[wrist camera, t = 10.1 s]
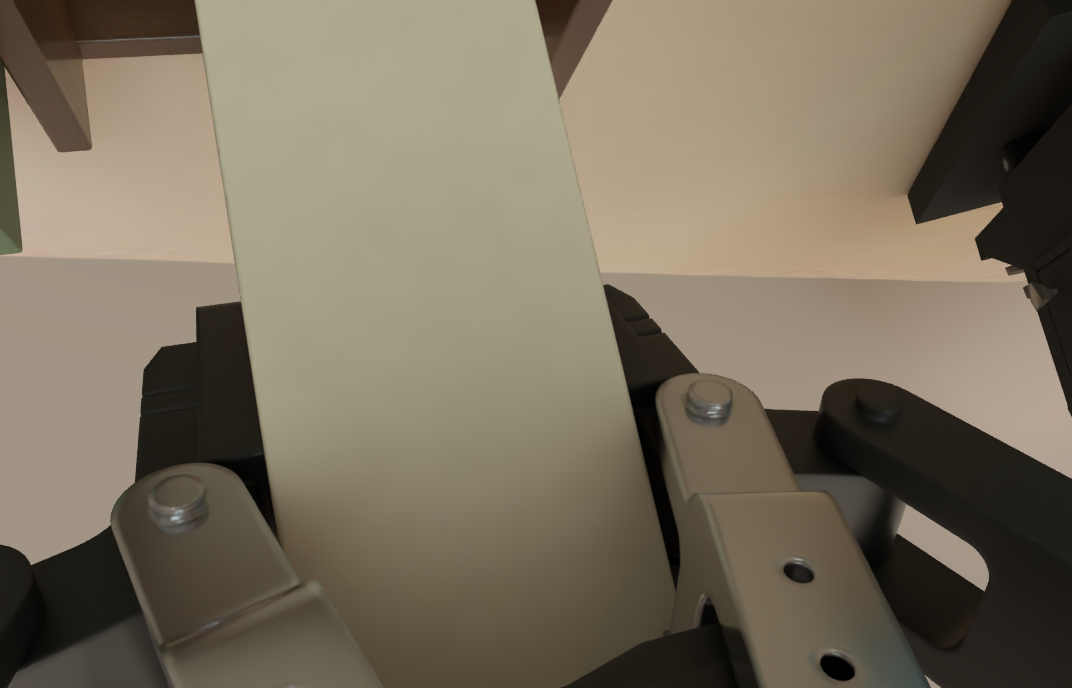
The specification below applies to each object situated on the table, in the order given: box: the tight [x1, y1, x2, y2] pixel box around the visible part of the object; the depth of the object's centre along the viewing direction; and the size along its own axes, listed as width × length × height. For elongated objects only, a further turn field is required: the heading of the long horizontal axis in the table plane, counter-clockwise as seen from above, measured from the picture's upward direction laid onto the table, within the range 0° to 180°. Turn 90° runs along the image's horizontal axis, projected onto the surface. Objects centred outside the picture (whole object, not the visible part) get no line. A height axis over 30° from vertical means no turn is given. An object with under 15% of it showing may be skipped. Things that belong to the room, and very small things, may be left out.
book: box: [195, 0, 676, 688], centre depth 15 cm, size 4×10×12 cm, turn 166°
